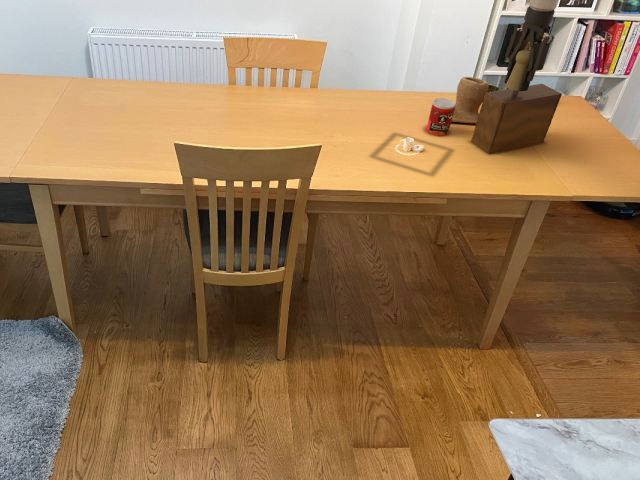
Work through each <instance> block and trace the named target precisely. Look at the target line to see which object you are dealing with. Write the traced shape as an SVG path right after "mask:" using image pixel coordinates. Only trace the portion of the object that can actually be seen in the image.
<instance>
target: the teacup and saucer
mask: <svg viewBox="0 0 640 480" xmlns="http://www.w3.org/2000/svg"><path fill="white" fill-rule="evenodd" d="M402 141H403V143H402ZM414 143H415V139H414V138H413V137H405V138H404V139H400V142H399V144H396V146H394V148H395V151H396V152H397V153H399V154H402V155H405V156H415V155H417V154H420V153H421V152H423V151H424V146H423V145H422V144H414ZM400 146H401V148H402V149H403V151H405V152H410V151H411V150H412V151H413V152H415V153H404V152H401V151H400V150H398V147H400Z"/></svg>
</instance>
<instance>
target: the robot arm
mask: <svg viewBox="0 0 640 480" xmlns="http://www.w3.org/2000/svg"><path fill="white" fill-rule="evenodd" d="M558 4H559V0H529V2H528V7H527V8H526V11H525V14H524V17H523V21H524V22H519V23H515V24H514V26H513V27H514V28H513V33H512V36H511V38H510V41H509V44H508V47H507V50H506V53H505V57H506V58H508V60H509V61H508V64H507V68H506V71H507V72H506V76H505V79H504V84H506V83H507V81H508V79H509V77H510V75H511V72H512V70H513V68H514V66H515V64H516V62H517V61H516V55H517V53H518V52H519V51H521V50H525V48H526V46H527V45H528V43H529V47H530V50H529V51H530V61H529V69H527V70H526V71H525V74H524V77H523V80H522V83H521V86H520V89H519V91H527V90H528V87H529V86H530V84H531V82H533V80H534V78H535V75H536V72H537V71H543V70H544V66H545V63H546V60H547V56H548V53H549V50H550V47H551V44H552V43H553V41H554V39H555V36H554V35H550V34H549V33H548V28H549V26H550V24H551V23H552V21H553V18H554V15H555V13H556V11H555V9H557V7H558Z"/></svg>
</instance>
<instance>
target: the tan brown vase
mask: <svg viewBox="0 0 640 480" xmlns="http://www.w3.org/2000/svg"><path fill="white" fill-rule="evenodd" d="M457 84H458V85H457V87H456V99H455V104H456V105H455V110H454V113H453V117H452V121H451V123H452V122H453V123H461V124H462V123H463V124H464V123H465V124H476V123H477V120H478V117H479V113H480V112H479V111H480V110H479V109H480V108H481V106H482V103H483V100H484V96H485V93H487V92H489V86H490V85H489V82H488V81H486V80H484V79H481V78H478V77H472V76H464V77H461V79H460V81H459V82H458V83H457Z"/></svg>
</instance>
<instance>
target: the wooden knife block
mask: <svg viewBox="0 0 640 480" xmlns="http://www.w3.org/2000/svg"><path fill="white" fill-rule="evenodd" d="M562 95H563V93H561V91H557V90H556V89H554V88H552V87H550V86H548V85H546V84H545V83H537V84H532V85H530V84H529V87H528V90H527V91H514V90H511V89H500V90H494V91H488V92H487V93H485V96H484V100H483V102H482V104H481V105H480V110H479V112H478V113H479V117H478V120H477V123H475V127H474V130H473V134H472V137H471V140H470V143H471V144H473V145H474V146H476V147H477V148H478V149H480V150H481V151H483V152H485V153H486V154H487V155H491V154H495V153H500V152H505V151H510V150H515V149H519V148H525V147H529V146H535V145H540V144H543V143H544V142H545V139H546V136H547V134H548V132H549V129H550V126H551V124H552V122H553V119H554V117H555V114H556V110H557V108H558V106H559V103H560V100H561V98H562Z"/></svg>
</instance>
